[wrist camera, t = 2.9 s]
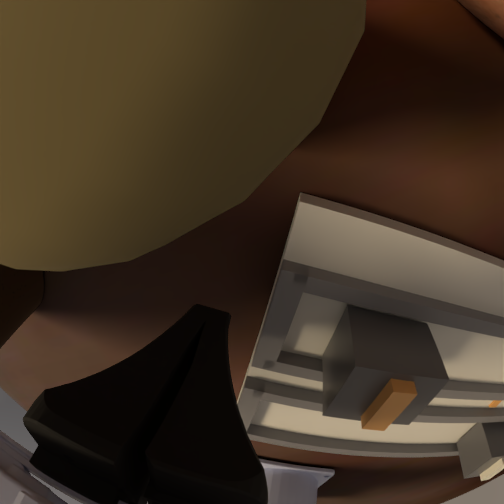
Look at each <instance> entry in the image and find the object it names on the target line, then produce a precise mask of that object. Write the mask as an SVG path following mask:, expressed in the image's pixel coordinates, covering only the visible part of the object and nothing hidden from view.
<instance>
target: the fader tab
mask: <svg viewBox="0 0 504 504" xmlns="http://www.w3.org/2000/svg"><path fill="white" fill-rule="evenodd" d="M322 363H323V409H322V416H328V417H334V418H342V419H349V420H357V421H361V426H362V429H367V430H378V431H385V430H386V429H387V428H388V426H389V425H390V424H400V425H409V424H410V423H411V422H412V421H413V420H414V419H415V418H416V417H417V416H418V415H419V414H420V413H421V412H422V411H423V410H424V409H425V408H426V406H427V405H428V404H429V403H430V402H431V401H432V400H433V399H434V398H435V396H436V395H437V394H438V393H439V392H440V391H441V389H442V388H443V387H444V386H445V385H446V384H447V382H448V381H449V377H448V374H447V372H446V369H445V366H444V364H443V361H442V358H441V356H440V353H439V351H438V348H437V346H436V343H435V341H434V338H433V336H432V333H431V331H430V329H429V326H428V324H427V323H424V322H419V321H415V320H410V319H406V318H402V317H397V316H393V315H389V314H384V313H380V312H376V311H372V310H367V309H363V308H359V307H355V306H351V305H347V306H346V308H345V310H344V312H343V315H342V317H341V319H340V321H339V323H338V325H337V327H336V329H335V331H334V333H333V335H332V337H331V339H330V341H329V343H328V345H327V347H326V349H325V351H324V353H323V355H322Z"/></svg>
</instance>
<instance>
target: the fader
mask: <svg viewBox="0 0 504 504" xmlns="http://www.w3.org/2000/svg"><path fill="white" fill-rule="evenodd" d="M456 444H457V448H458V453H459V457H460V462H461V466H462V471H463V476H464V478H470V477H476V476H480V478H481V481H483V480H488V479H490V478H492V477H493V476H494V475H496V474H497V473H498V472H500V471H501V470H503V469H504V422H489V423H477V424H476V425H475V426H474V427H473V428H472V429H471V430H469V431H468V432H467V433H466V434H465V435H464V436H463V437H462V438H461V439H460V440H458V441H457V442H456Z"/></svg>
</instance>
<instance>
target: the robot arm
mask: <svg viewBox="0 0 504 504" xmlns="http://www.w3.org/2000/svg"><path fill="white" fill-rule="evenodd" d="M230 319H231V315H230V314H229V313H227V312H224V311H220V310H217V309H213V308H210V307H206V306H203V305H199V304H196V305H194V306H193V307H192V308H191V309H190V310H189V311H188V312H187V313H186V314H185V315H184V316H183V317H182V318H180V319H179V320H178V321H177V322H176V323H175V324H174V325H173V326H171V327H170V328H169V329H168V330H167V331H165V332H164V333H163V334H162V335H160V336H159V337H158V338H156V339H155V340H154V341H152V342H151V343H150V344H148V345H147V346H145V347H144V348H143V349H141V350H139V351H138V352H136V353H135V354H133V355H132V356H130V357H128V358H126V359H125V360H123V361H121V362H119V363H117V364H115V365H113V366H111V367H109V368H107V369H105V370H103V371H101V372H99V373H96V374H94V375H91V376H88V377H86V378H83V379H81V380H78V381H75V382H72V383H69V384H65V385H61V386H58V387H54V388H50V389H45V390H44V391H43V392H42V394H41V395H40V396H39V397H38V398H37V399H36V400H35V402H34V403H33V404H32V406H31V407H30V409H29V410H28V412H27V413H26V414H25V416H24V417H23V422H24V425H25V427H26V428H27V430H28V431H29V433H30V434H31V435H32V437H33V438H34V440H35V441H36V442H37V443H38V447H37V449H36V451H35V452H34V454H33V453H31V452H30V451H28V450H27V449H25V448H24V447H22V446H21V445H20V444H18V443H17V442H15V441H14V440H12V439H11V438H10V437H9V436H7V435H6V434H4V433H3V432H2V431H1V430H0V504H67V503H66V502H65V501H63V500H62V499H60V498H59V497H58V496H57V495H55V494H54V493H53V492H52V491H51V490H50V489H49V488H48V487H46V486H45V485H43V484H42V483H41V482H39V481H38V480H36V479H35V478H34V477H32V476H31V475H30V473H32V474H33V475H35V476H37V477H38V478H40V479H41V480H43V481H44V482H46V483H48V484H49V485H51V486H52V487H54V488H56V489H57V490H59V491H61V492H63V493H64V494H66V495H68V496H70V497H71V498H73V499H75V500H77V501H79V502H81V503H83V504H147V501H148V504H316V502H317V488H318V487H320V486H321V485H322V484H324V483H325V482H326V481H327V480H328V479H330V478H331V477H332V476H333V475H334V474H335V471H334V470H333V469H325V468H316V467H308V466H300V465H293V464H287V463H281V462H275V461H269V460H264V459H259V458H258V456H257V454H256V452H255V450H254V448H253V446H252V443H251V441H250V439H249V436H248V434H247V431H246V429H245V426H244V423H243V420H242V417H241V415H240V412H239V408H238V405H237V401H236V397H235V393H234V389H233V384H232V379H231V373H230V366H229V355H228V328H229V323H230ZM29 472H30V473H29Z"/></svg>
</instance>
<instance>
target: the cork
mask: <svg viewBox="0 0 504 504" xmlns="http://www.w3.org/2000/svg"><path fill="white" fill-rule="evenodd" d="M365 16H366V0H0V264H2V265H5V266H8V267H11V268H14V269H22V270H41V271H69V270H75V269H81V268H88V267H94V266H101V265H107V264H114V263H120V262H127V261H131V260H133V259H135V258H137V257H140V256H142V255H144V254H146V253H148V252H151V251H153V250H155V249H157V248H160V247H162V246H164V245H166V244H168V243H170V242H172V241H173V240H175V239H177V238H179V237H180V236H182V235H184V234H186V233H187V232H189V231H191V230H193V229H194V228H196V227H198V226H200V225H202V224H203V223H205V222H207V221H209V220H211V219H212V218H214V217H216V216H218V215H220V214H221V213H223V212H225V211H227V210H229V209H231V208H232V207H234V206H236V205H238V204H240V203H242V202H244V201H245V200H246V199H247V198H248V197H249V196H250V195H251V194H252V192H253V191H254V190H255V189H256V188H257V187H258V186H259V185H260V184H261V183H262V182H263V181H264V180H265V179H266V178H267V177H268V176H269V175H270V173H271V172H272V171H273V170H274V169H275V168H276V167H277V166H278V165H279V164H280V163H281V162H282V161H283V160H284V159H285V158H286V157H287V156H288V155H289V154H290V153H291V152H292V151H293V150H294V149H295V148H296V147H297V146H298V145H299V144H300V143H301V141H302V140H303V139H304V138H305V137H306V136H307V135H308V134H309V133H310V132H311V131H312V130H313V129H314V128H315V127H316V126H317V125H318V124H319V123H320V121H321V119H322V117H323V115H324V113H325V111H326V109H327V107H328V104H329V102H330V100H331V98H332V96H333V94H334V92H335V90H336V88H337V86H338V84H339V82H340V80H341V78H342V76H343V74H344V72H345V70H346V68H347V66H348V64H349V61H350V59H351V57H352V55H353V53H354V51H355V49H356V47H357V45H358V43H359V41H360V39H361V37H362V35H363V33H364V31H365Z"/></svg>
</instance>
